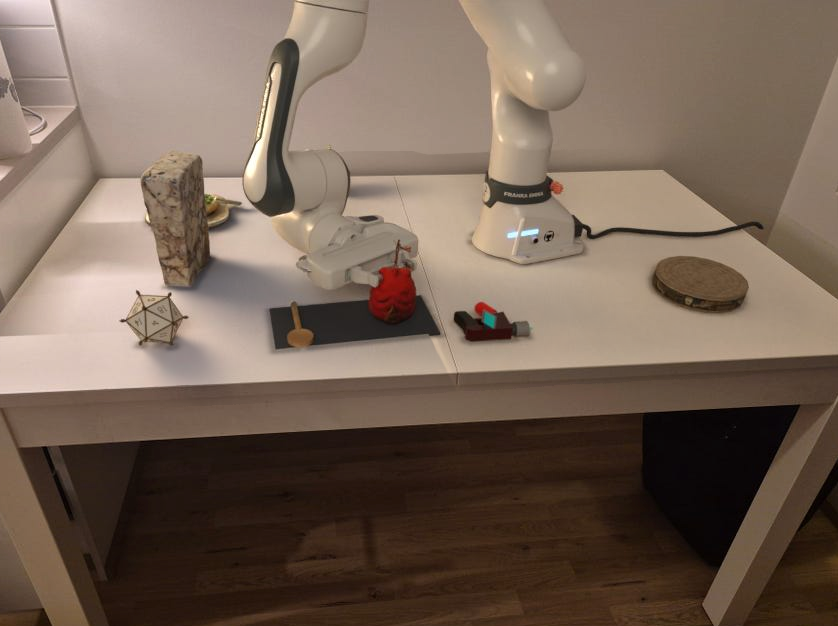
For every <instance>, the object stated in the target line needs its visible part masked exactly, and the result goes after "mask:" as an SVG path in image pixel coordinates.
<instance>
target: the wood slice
mask: <svg viewBox="0 0 838 626" xmlns="http://www.w3.org/2000/svg"><path fill="white" fill-rule="evenodd" d="M651 281H652V282H651V286H652V287H653V289H654V291H655V293H657V294H658V295H659V296H661V298H663V299H664V300H666V301H667V302H670V303H672V304H674V305H676V306H677V307H681V308H684V309H687V310H691V311H696V312H701V313H708V314H709V313H710V314H723V313H724V314H725V313H730V312H733V311H736V310H737V309H739V308H741V306H742V305H743V304H744V300H745V299H746V296H747V294H748V291H749V289H750V286H749V282H748V280H747V279H746V277H745V276H744V275H743V274H742V273H740V272H739V271H737V270H736V269H734V268H732V267H731V266H728V265H726V264H724V263H722V262H719V261H716V260H712V259H709V258H704V257H698V256H692V255H691V256H688V255H676V256H669V257H666V258H664V259H661V260H659V262H658V263H657V264H656V266H655V269H654V272H653V275H652V280H651Z"/></svg>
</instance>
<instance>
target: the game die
mask: <svg viewBox="0 0 838 626" xmlns="http://www.w3.org/2000/svg"><path fill="white" fill-rule="evenodd" d="M135 294H136V296H137V297H136V299H135V301H134V303H133V305H132V306H131V309H130V311H129V313H128V314H127V316H126V318H125V319H124V318H121V319H119V322H120V323H126V324H127V326H128V327H129V328H130V329H131V330H132V331H133V333H134V334H135V335H136V337H137V338H138V339H139V340H138V346H142V345H143V344H144V343H161V344H162V343H163V344H169V346H174V342H172V341H173V340H174V337H175V336H176V334H177V331H178V330H179V328H180V325H181V324H182V322H183V320H188V319H189V318H190V316H188V315H187V314H186V315H184V316H183V314H182V313H181V311H180V310H179V309H178V307H177V306H176V304H175V303H174V302H173V300H172V298H171V297H172V296H173V294H172V291H170V292H167V295H155V294H141V292H140V290H138V289H136V290H135Z"/></svg>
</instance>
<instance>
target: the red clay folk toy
mask: <svg viewBox="0 0 838 626" xmlns="http://www.w3.org/2000/svg"><path fill="white" fill-rule="evenodd" d="M393 241H394V240H393ZM394 242H395V241H394ZM399 242H400V239H399V240H398V241H397V244H396V242H395V244H396V256H395V257H393V259H394V262H395V263H394V266H392V267H382V268H381V269H380V270H379V272H378V274H381V275H382V276H383V280H382V281H383V284H382V285H380V286H377V287H372V286H371V285H370V289H369V298H368V300H369V308H370V311H371V312H372V314H373V315H374V316H375V317H376V318H377V319H379V320H380V321H382V322H386V323H388V324H396V323H399V322H403V321H404V320H406V319H408V318H409V317H410V316H411V315H412V314H413V312H414V309H415V304H416V301H415V299H416V296H417V287H416V285H415V281H414V278H413V277H412V272H411V271H410V270H409V269H408V268H403V267H399V265H398V264H397V261H398V253H399V250H401V249H402V250H406V251H408V252H411V247H408V248H405V247H401V244H400V243H399Z"/></svg>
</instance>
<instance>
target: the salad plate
mask: <svg viewBox="0 0 838 626" xmlns="http://www.w3.org/2000/svg"><path fill="white" fill-rule="evenodd" d="M204 194H205V204H206V211H207V220H208V229H209V228H214V227H218V226H220V225H221V224H224V223H225V222H226V221H227V220H228V219H229V218H230V210H231V208H234V207H238V206H239V207H240V206H241V205H242V204H243V203H242V202H243V201H238V200H231V199H226V198H225V197H224V196H221V195H218V194H216V193H204ZM144 220H145V224H146V225H147V226H149V227H151V224H150V220H149V216H148V211H147V210H146V212H145V219H144Z"/></svg>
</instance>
